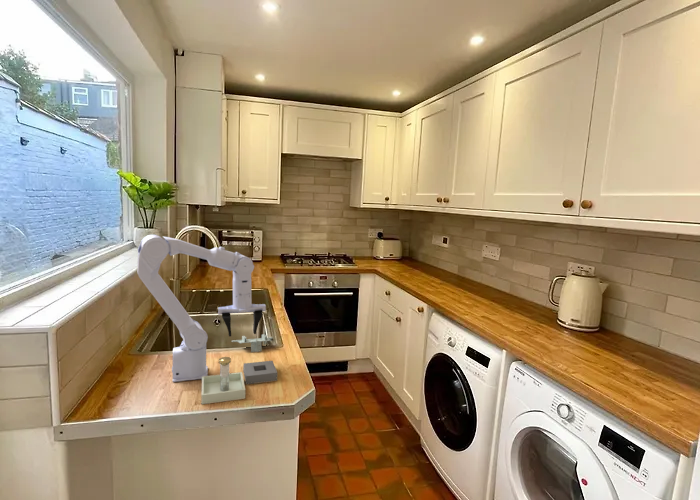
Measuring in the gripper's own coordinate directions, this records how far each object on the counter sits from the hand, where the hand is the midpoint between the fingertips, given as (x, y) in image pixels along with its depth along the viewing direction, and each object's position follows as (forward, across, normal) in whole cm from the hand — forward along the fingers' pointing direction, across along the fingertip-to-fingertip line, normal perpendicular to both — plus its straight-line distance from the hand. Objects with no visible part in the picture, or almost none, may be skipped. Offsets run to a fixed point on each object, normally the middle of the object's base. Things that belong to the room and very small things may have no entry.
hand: (242, 334), depth 120 cm
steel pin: (+10, -6, -16) cm, 20 cm away
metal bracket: (+11, +5, +16) cm, 21 cm away
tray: (+10, -7, -16) cm, 20 cm away
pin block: (+10, +4, -9) cm, 15 cm away
